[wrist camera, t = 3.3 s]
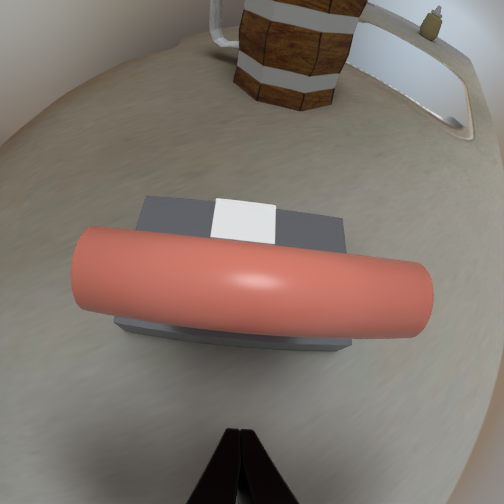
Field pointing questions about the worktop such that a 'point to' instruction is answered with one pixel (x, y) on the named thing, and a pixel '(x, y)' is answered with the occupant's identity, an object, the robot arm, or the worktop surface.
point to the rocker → (248, 286)
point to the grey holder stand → (245, 230)
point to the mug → (291, 48)
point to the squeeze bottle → (431, 24)
